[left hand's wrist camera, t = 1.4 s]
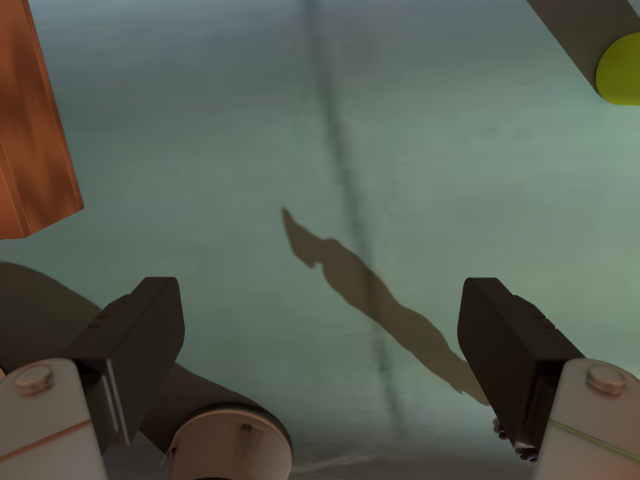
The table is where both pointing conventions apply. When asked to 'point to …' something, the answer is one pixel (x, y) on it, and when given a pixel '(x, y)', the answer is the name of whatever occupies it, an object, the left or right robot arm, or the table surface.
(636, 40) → the soap dispenser
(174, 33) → the table surface
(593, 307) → the table surface
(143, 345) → the left robot arm
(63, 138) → the cabinet
